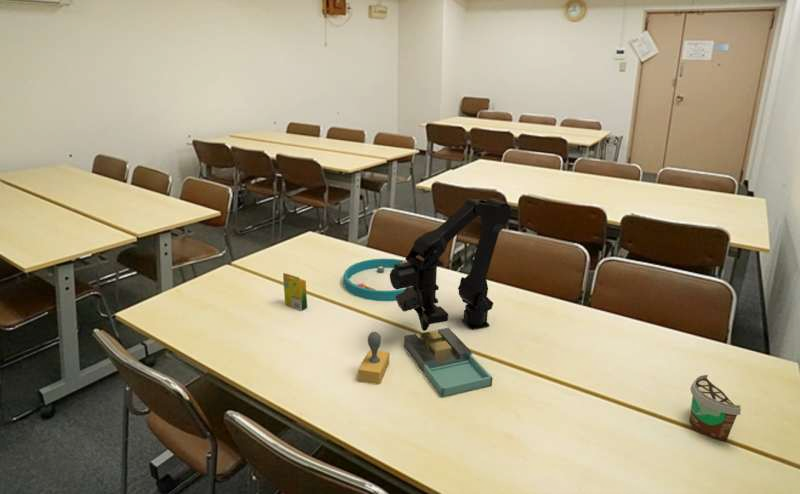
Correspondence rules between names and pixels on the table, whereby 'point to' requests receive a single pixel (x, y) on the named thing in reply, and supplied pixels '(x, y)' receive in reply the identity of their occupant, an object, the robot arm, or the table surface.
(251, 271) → the table surface
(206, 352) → the table surface
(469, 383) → the tray
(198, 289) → the table surface
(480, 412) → the table surface
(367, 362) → the rubber stamp
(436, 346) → the brass chip
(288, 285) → the crayon box
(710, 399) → the food container
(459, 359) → the slotted plate
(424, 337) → the brass chip
